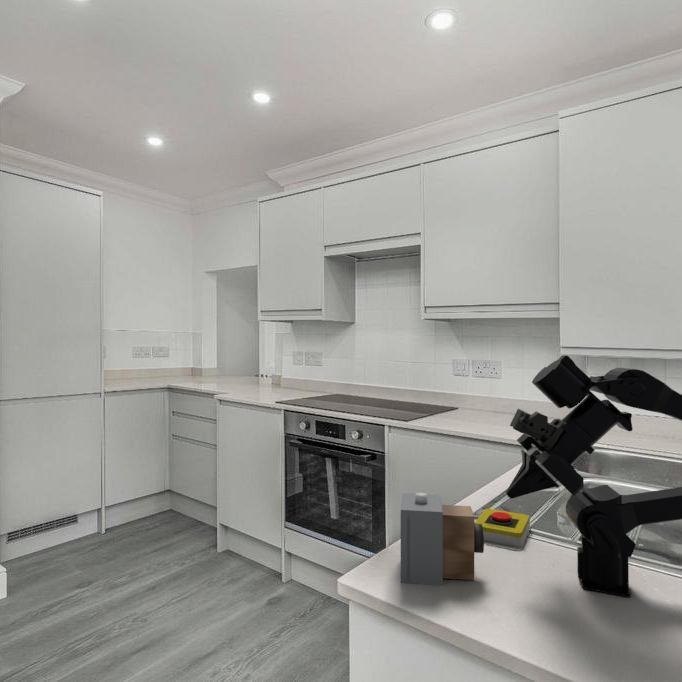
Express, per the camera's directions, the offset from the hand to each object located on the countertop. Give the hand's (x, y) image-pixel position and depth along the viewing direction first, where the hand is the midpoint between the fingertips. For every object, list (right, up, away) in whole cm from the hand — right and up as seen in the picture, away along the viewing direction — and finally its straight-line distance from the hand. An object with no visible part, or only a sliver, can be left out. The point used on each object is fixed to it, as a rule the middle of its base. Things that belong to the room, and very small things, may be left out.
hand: (508, 495), depth 77 cm
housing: (-14, -13, +2) cm, 19 cm away
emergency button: (+5, -14, +18) cm, 24 cm away
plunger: (-7, -13, +1) cm, 15 cm away
